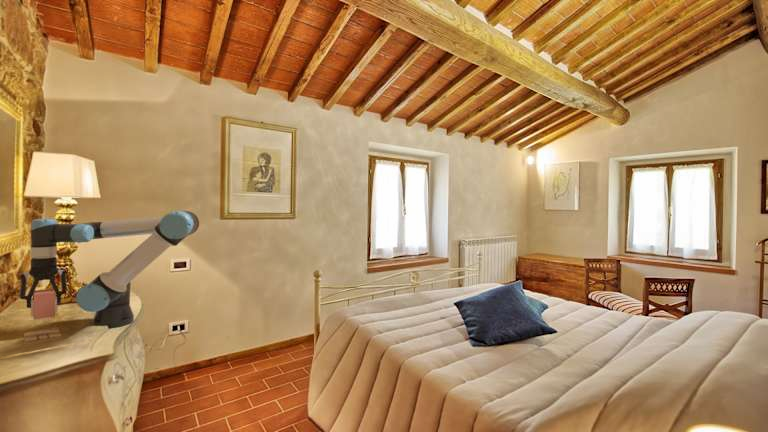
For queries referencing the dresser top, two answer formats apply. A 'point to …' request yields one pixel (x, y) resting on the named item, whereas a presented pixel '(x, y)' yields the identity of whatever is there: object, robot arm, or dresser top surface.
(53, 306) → the sanding block
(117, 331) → the dresser top surface
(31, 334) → the board
